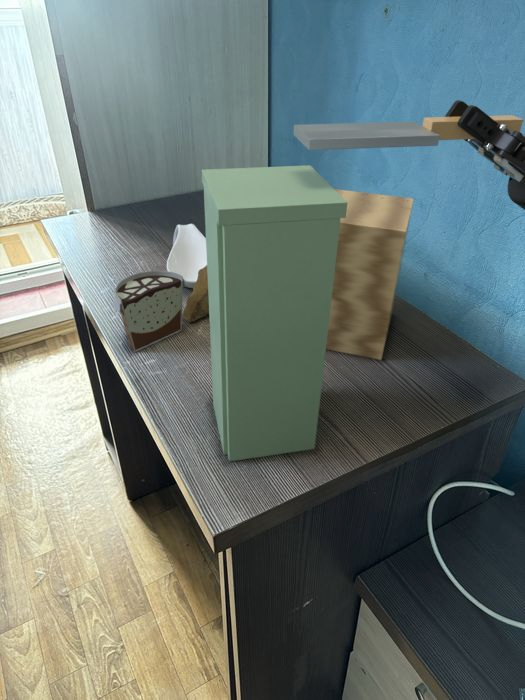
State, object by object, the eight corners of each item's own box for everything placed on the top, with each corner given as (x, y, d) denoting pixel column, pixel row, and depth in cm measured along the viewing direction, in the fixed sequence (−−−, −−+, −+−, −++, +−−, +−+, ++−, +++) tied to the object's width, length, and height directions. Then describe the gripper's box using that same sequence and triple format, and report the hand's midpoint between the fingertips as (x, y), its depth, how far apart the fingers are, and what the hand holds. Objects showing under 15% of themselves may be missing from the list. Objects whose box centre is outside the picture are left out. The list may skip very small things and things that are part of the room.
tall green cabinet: (293, 389, 75) (310, 165, 57) (318, 448, 66) (347, 202, 47) (212, 399, 73) (201, 169, 55) (225, 462, 64) (218, 209, 45)
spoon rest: (235, 292, 99) (234, 258, 94) (173, 300, 96) (170, 265, 91) (208, 243, 117) (206, 212, 113) (155, 248, 114) (152, 217, 110)
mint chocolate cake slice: (167, 313, 92) (162, 262, 86) (189, 327, 88) (185, 274, 83) (105, 340, 85) (95, 285, 79) (126, 356, 81) (117, 300, 75)
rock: (187, 322, 85) (243, 304, 88) (170, 272, 85) (227, 256, 87) (181, 327, 96) (231, 311, 98) (166, 283, 96) (217, 268, 98)
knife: (497, 128, 57) (501, 111, 56) (530, 142, 52) (536, 123, 51) (293, 134, 53) (294, 116, 52) (308, 150, 48) (310, 129, 47)
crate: (391, 316, 93) (414, 198, 80) (381, 360, 82) (406, 231, 69) (304, 301, 97) (313, 186, 84) (284, 341, 86) (291, 215, 73)
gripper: (546, 144, 63) (449, 65, 56) (633, 179, 52) (526, 86, 45) (503, 198, 66) (406, 130, 59) (577, 242, 55) (468, 165, 48)
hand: (458, 112), depth 52 cm, fingers closed on knife, 2 cm apart
